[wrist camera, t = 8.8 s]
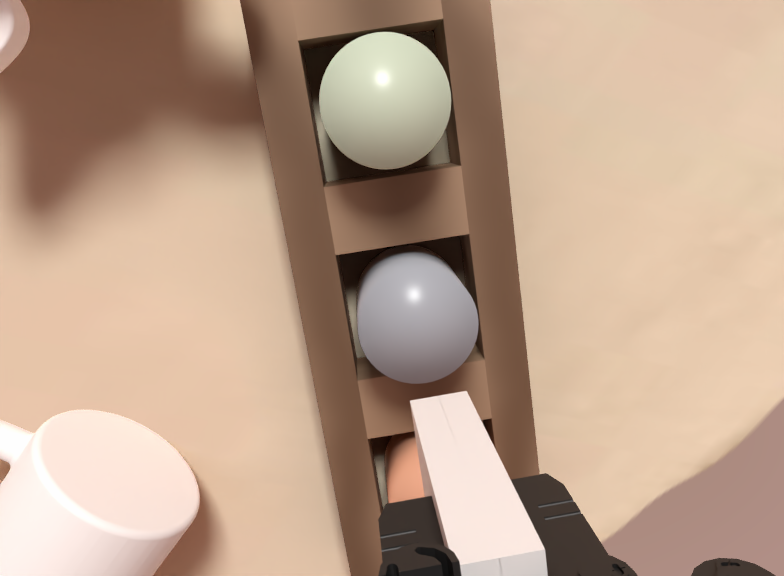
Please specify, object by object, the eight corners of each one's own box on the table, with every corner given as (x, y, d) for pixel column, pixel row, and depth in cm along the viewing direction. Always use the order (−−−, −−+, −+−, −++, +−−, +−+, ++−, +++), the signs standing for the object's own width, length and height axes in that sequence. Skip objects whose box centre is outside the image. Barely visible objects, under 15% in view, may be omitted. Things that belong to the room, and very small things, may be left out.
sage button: (334, 170, 30) (331, 178, 25) (315, 58, 29) (308, 42, 24) (440, 153, 30) (458, 158, 25) (425, 41, 29) (442, 22, 24)
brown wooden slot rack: (353, 550, 35) (353, 588, 32) (250, 8, 29) (239, -5, 26) (531, 520, 36) (547, 554, 33) (472, -24, 29) (485, -42, 26)
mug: (217, 466, 34) (177, 566, 26) (116, 602, 35) (51, 734, 28) (8, 341, 31) (-104, 409, 24) (-90, 491, 33) (-224, 602, 25)
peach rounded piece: (392, 509, 34) (399, 574, 29) (377, 424, 33) (382, 476, 28) (484, 493, 34) (507, 555, 29) (473, 408, 33) (495, 457, 28)
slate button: (365, 351, 32) (367, 392, 27) (348, 254, 31) (348, 278, 26) (463, 335, 32) (484, 373, 27) (451, 237, 31) (471, 258, 26)
